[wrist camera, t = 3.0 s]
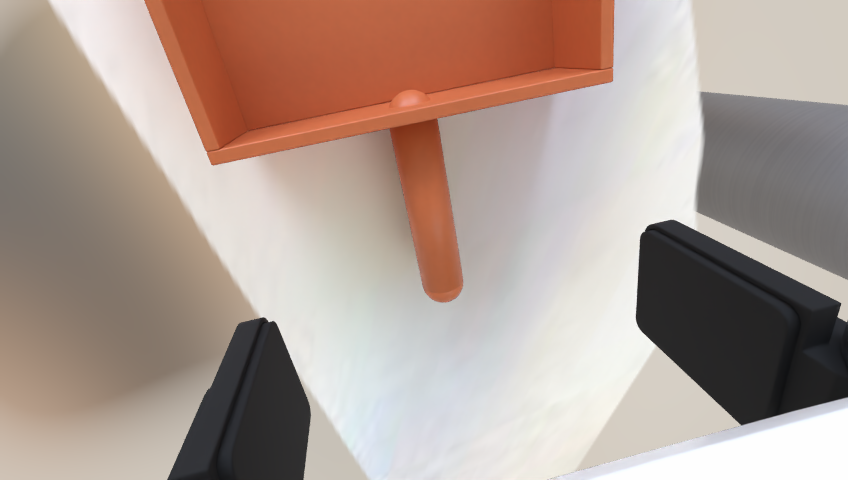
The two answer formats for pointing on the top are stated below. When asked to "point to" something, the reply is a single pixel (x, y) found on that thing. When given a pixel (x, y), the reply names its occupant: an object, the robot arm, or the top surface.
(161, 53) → the top surface
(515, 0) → the dustpan
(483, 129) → the top surface
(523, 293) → the top surface
